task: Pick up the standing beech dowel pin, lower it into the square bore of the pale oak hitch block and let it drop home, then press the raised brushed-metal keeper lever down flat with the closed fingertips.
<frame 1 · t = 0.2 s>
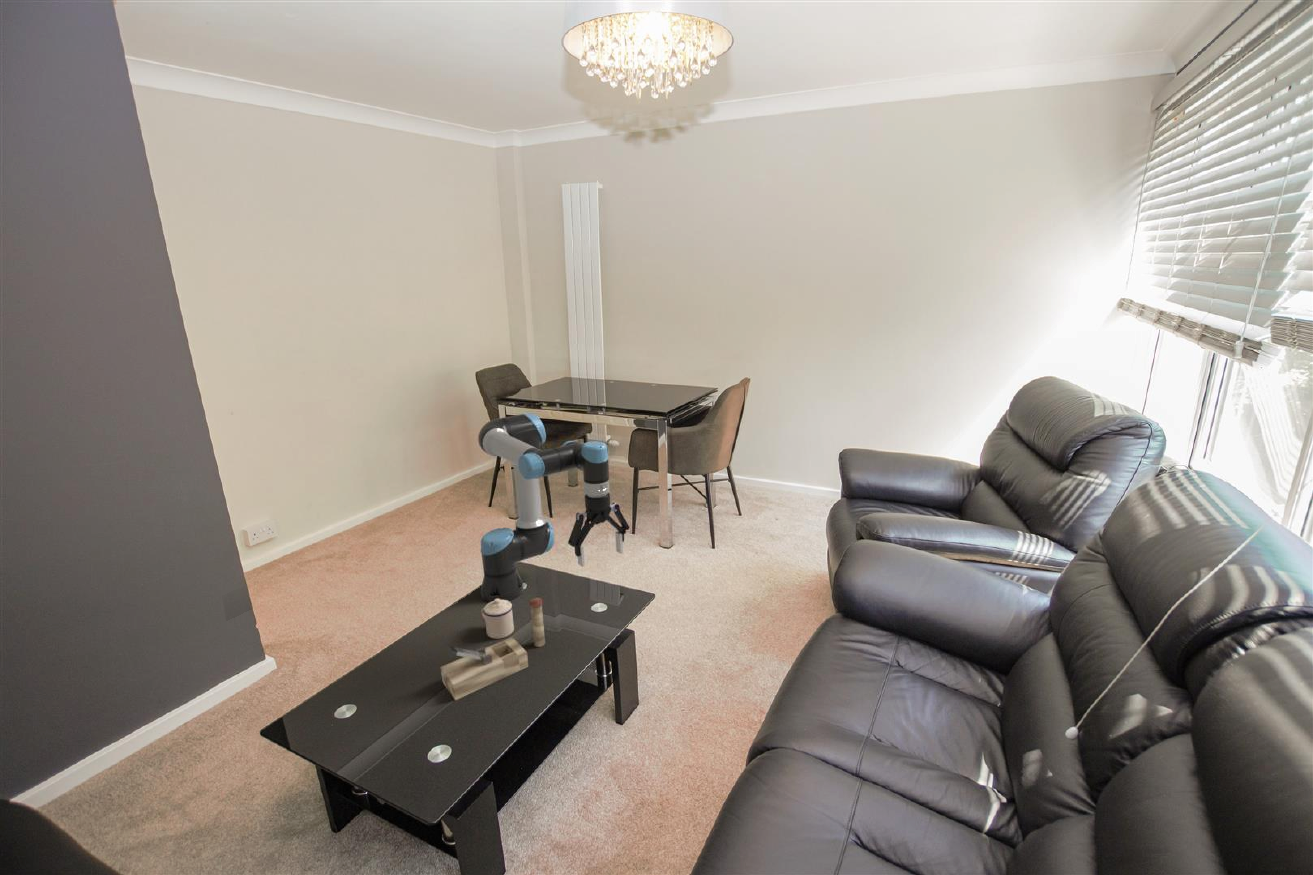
hand: (600, 558, 180), 28 cm above the table, fingers open, 13 cm apart
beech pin: (539, 643, 184), on the table
teacup with lid: (497, 630, 192), on the table
keeper lever: (467, 653, 165), point 9 cm above the table, hinge at 35.0°
hitch block: (486, 674, 170), on the table
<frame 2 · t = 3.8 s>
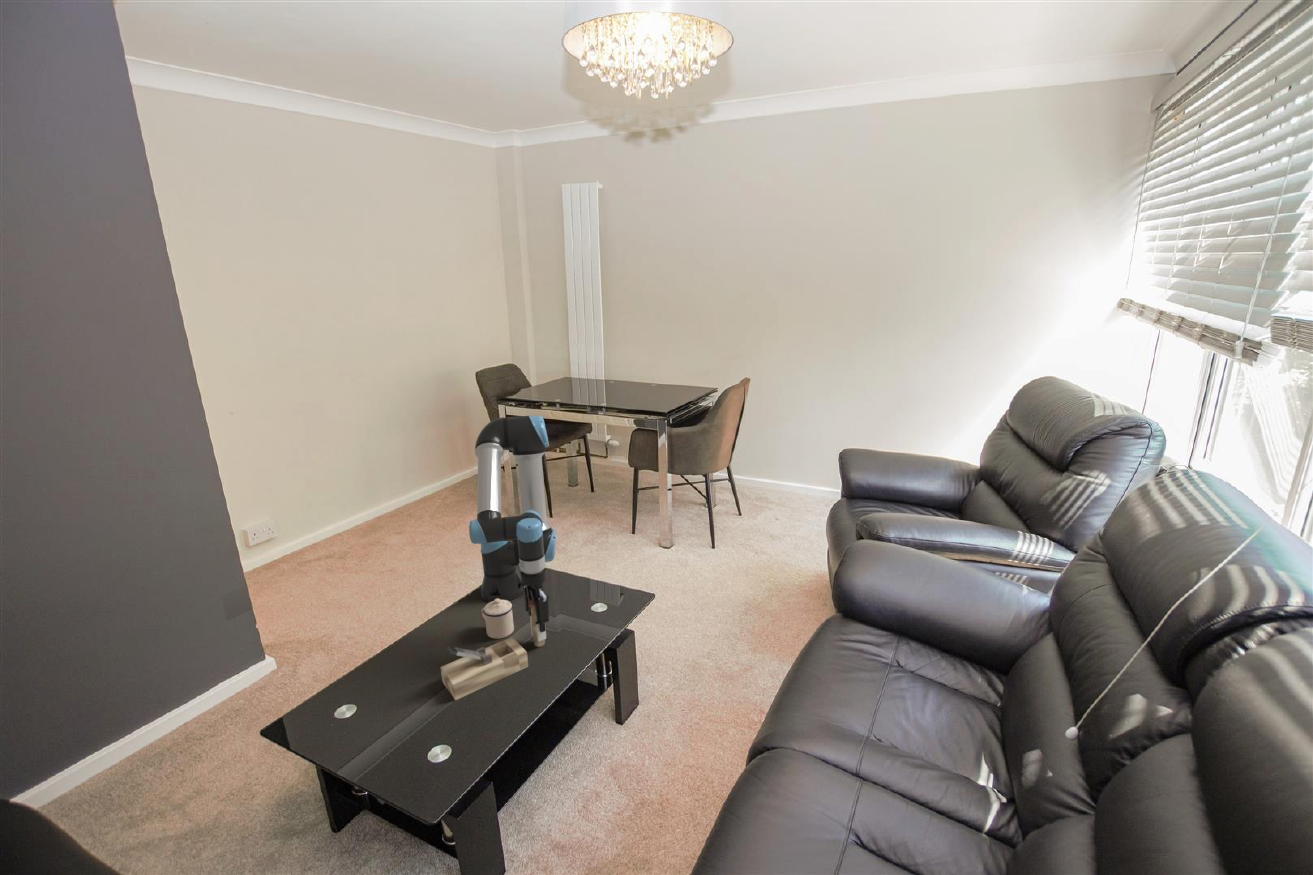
hand: (539, 636, 183), 3 cm above the table, fingers closed on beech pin, 3 cm apart
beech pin: (539, 643, 184), on the table, touching gripper
everything else where it was.
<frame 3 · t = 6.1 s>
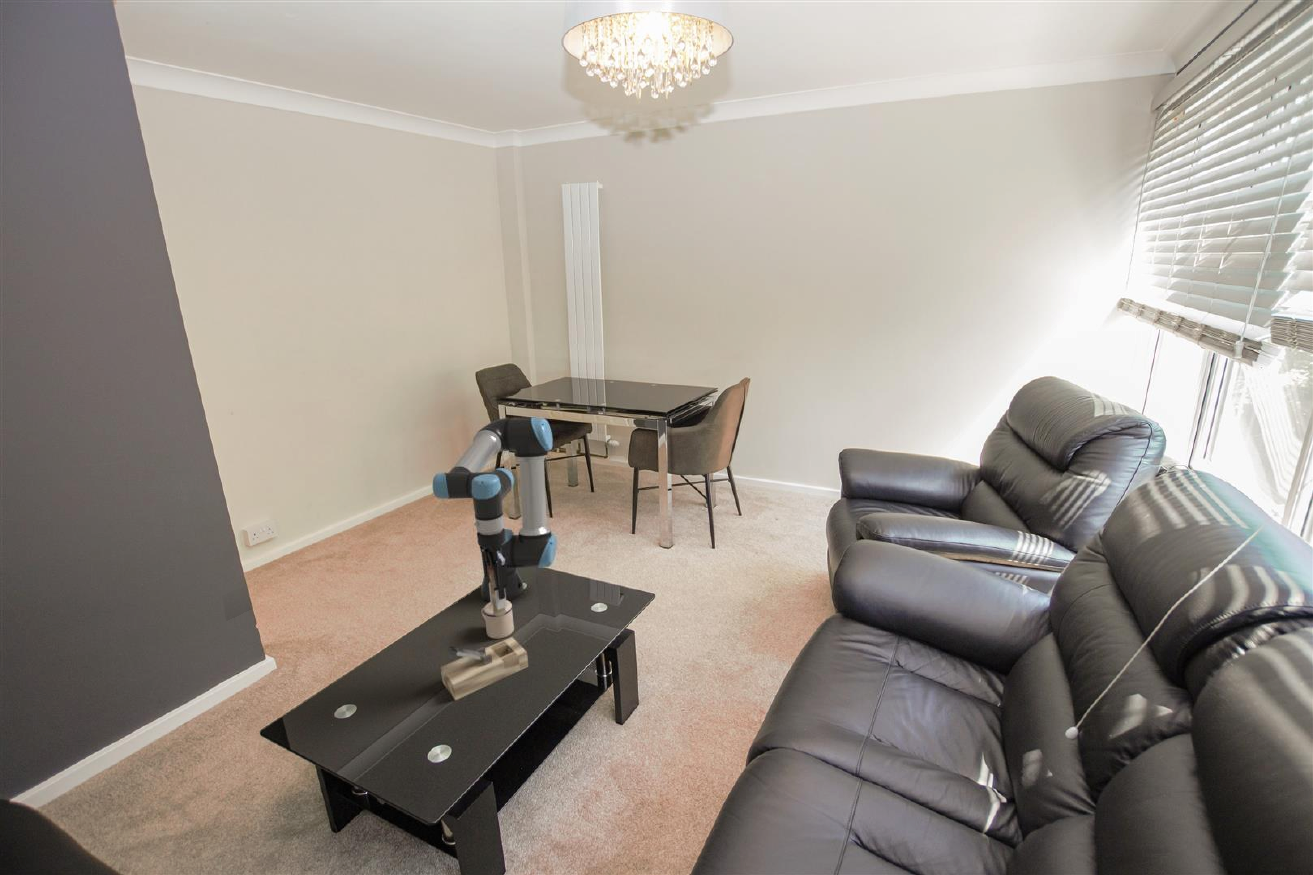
hand: (498, 604, 169), 20 cm above the table, fingers closed on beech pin, 3 cm apart
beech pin: (499, 613, 169), point 18 cm above the table, touching gripper
everything else where it was.
when the fingers open (6 cm above the table, at t = 8.8 s): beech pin drops 3 cm, resting in hitch block.
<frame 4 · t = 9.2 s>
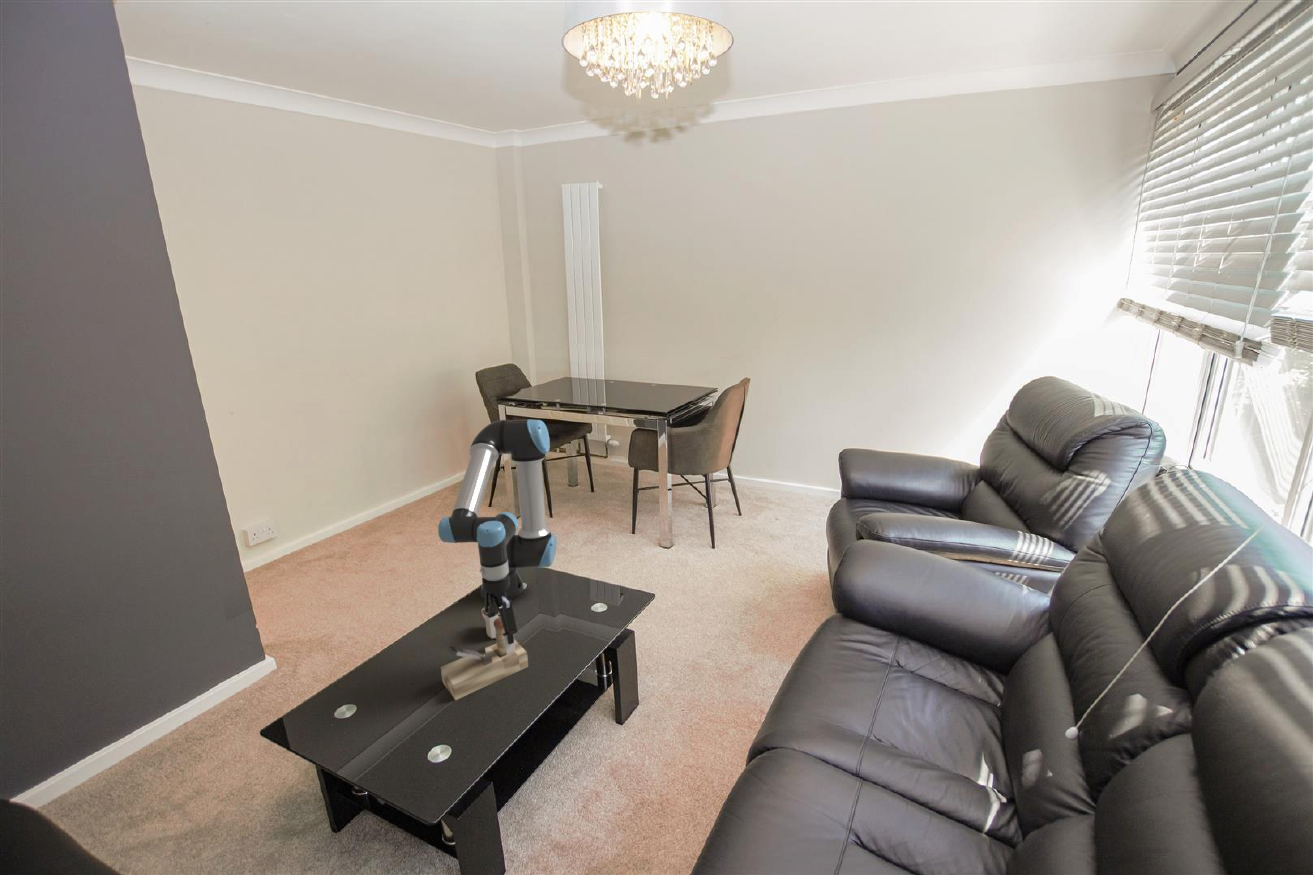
hand: (502, 643, 172), 7 cm above the table, fingers open, 9 cm apart
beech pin: (505, 665, 174), resting in hitch block
everything else where it was.
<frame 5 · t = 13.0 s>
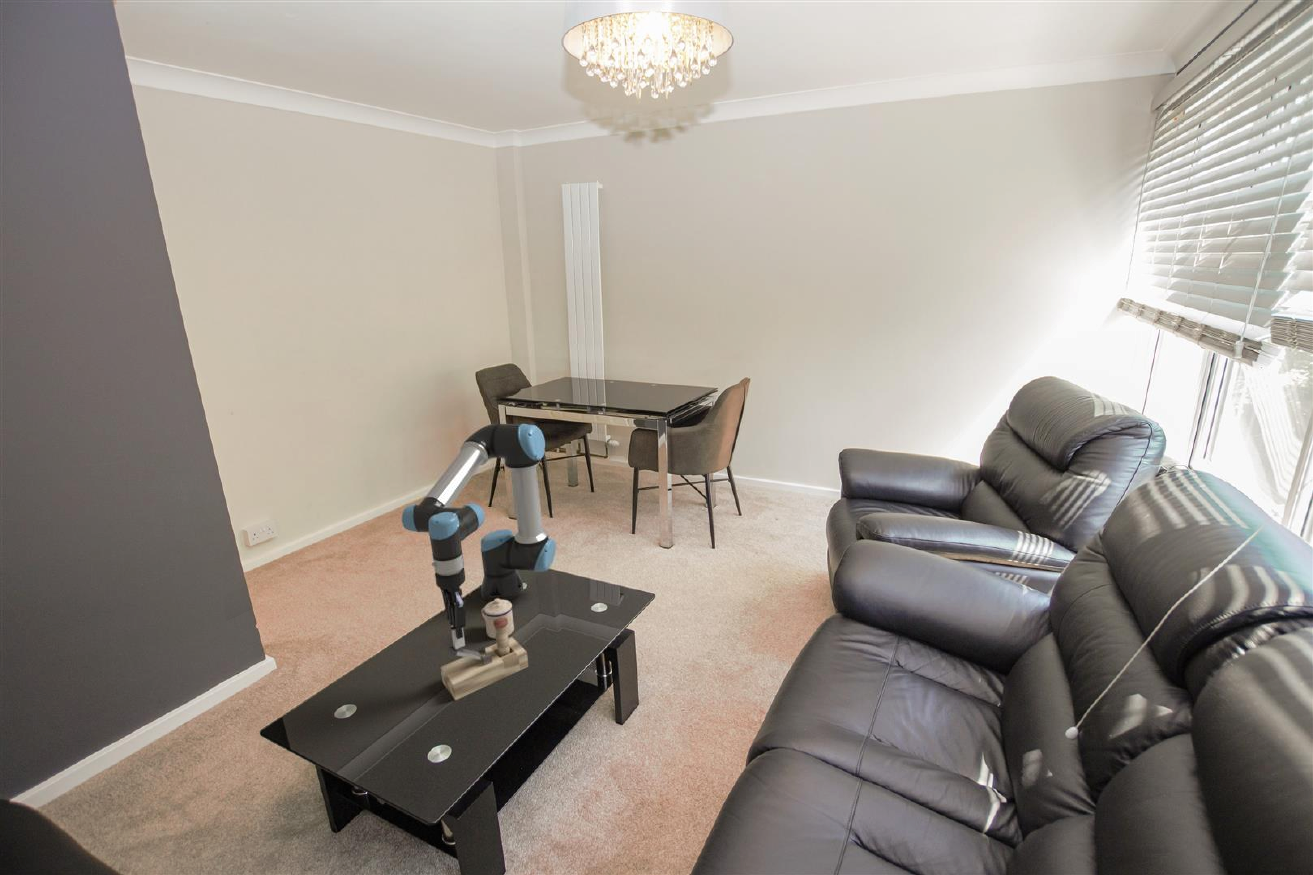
hand: (459, 646, 163), 12 cm above the table, fingers closed
keeper lever: (467, 653, 165), point 9 cm above the table, hinge at 35.0°, touching gripper
everything else where it was.
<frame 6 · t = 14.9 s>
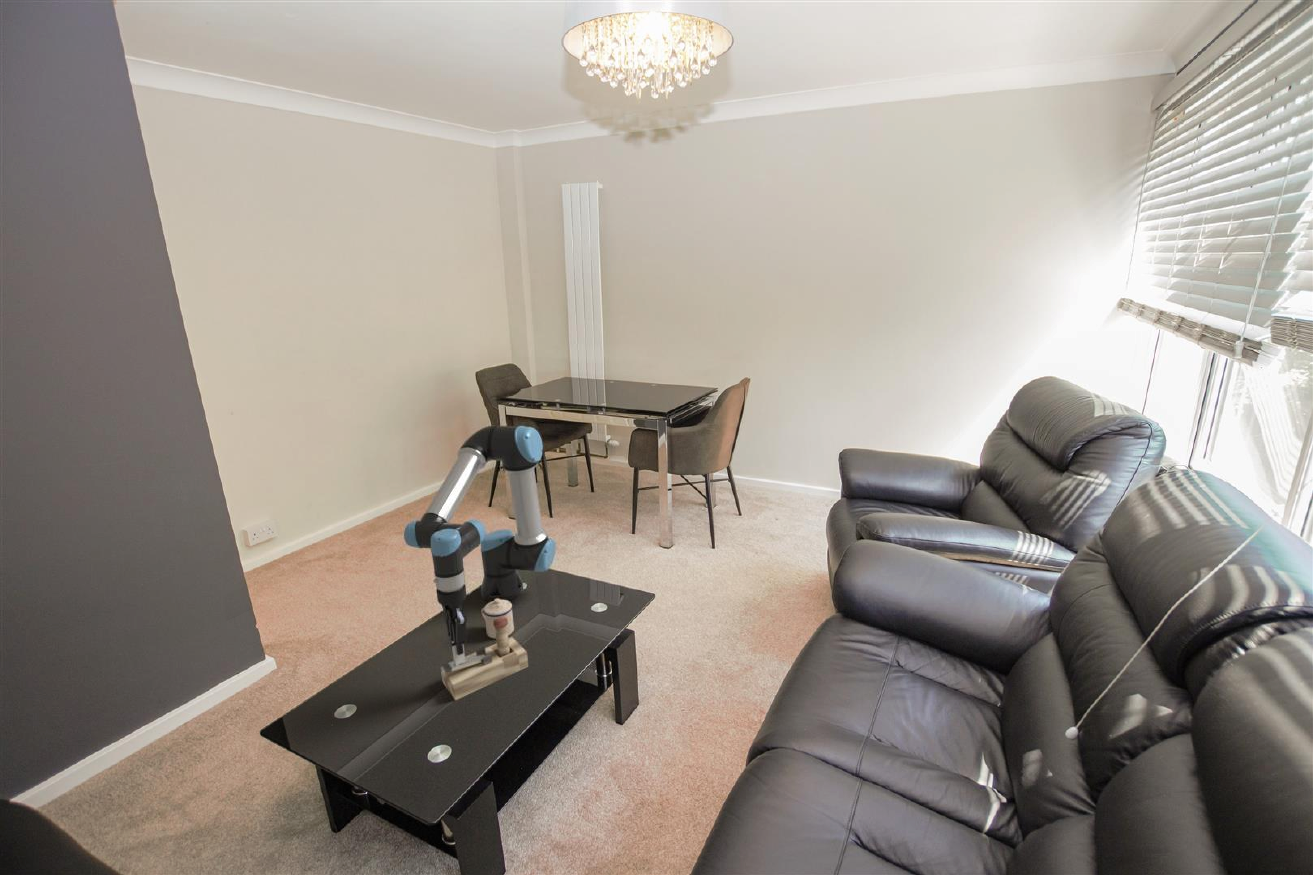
hand: (459, 662, 164), 8 cm above the table, fingers closed
keeper lever: (464, 662, 165), point 7 cm above the table, hinge at 8.1°, touching gripper
everything else where it was.
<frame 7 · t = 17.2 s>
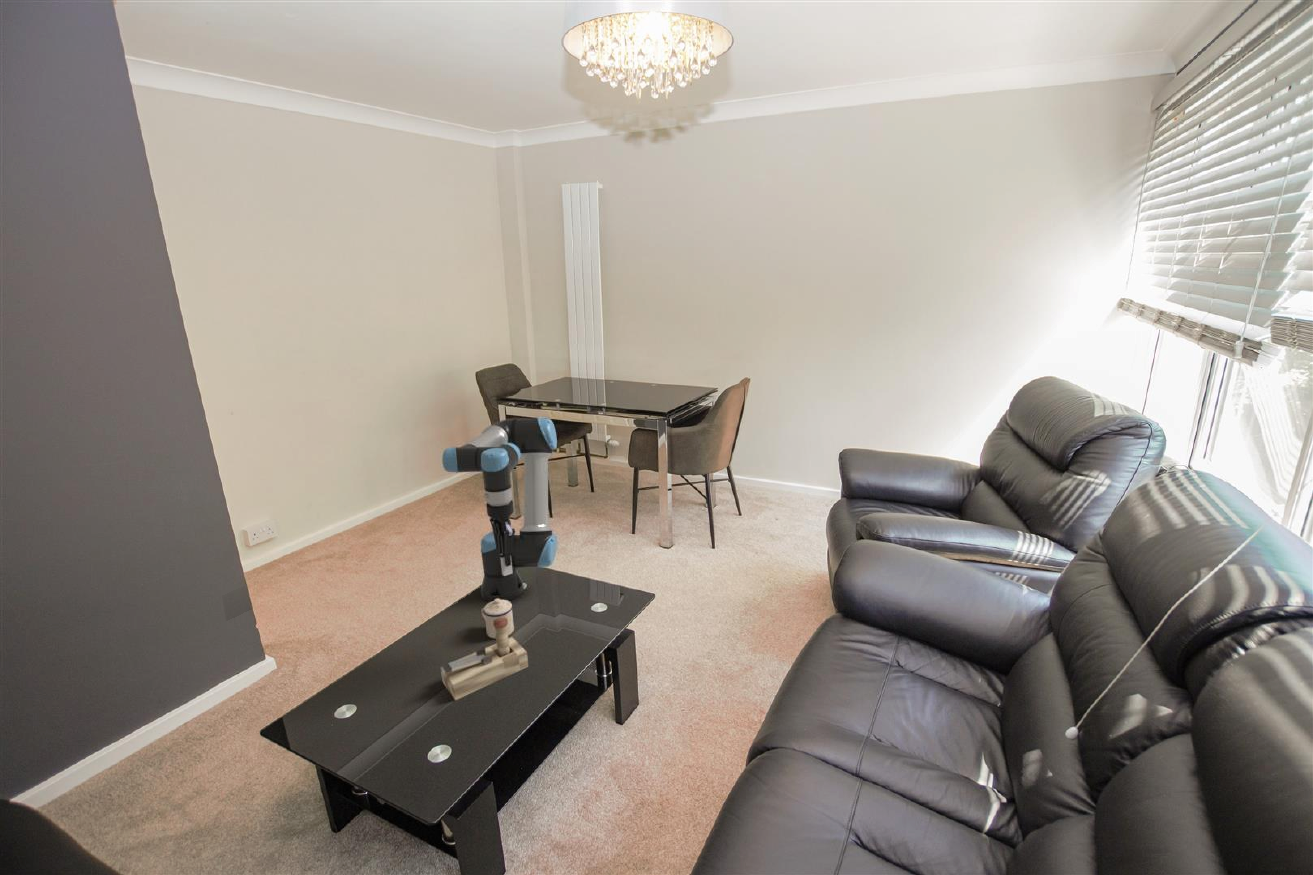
hand: (507, 573, 176), 25 cm above the table, fingers closed
keeper lever: (464, 662, 165), point 7 cm above the table, hinge at 8.0°
everything else where it was.
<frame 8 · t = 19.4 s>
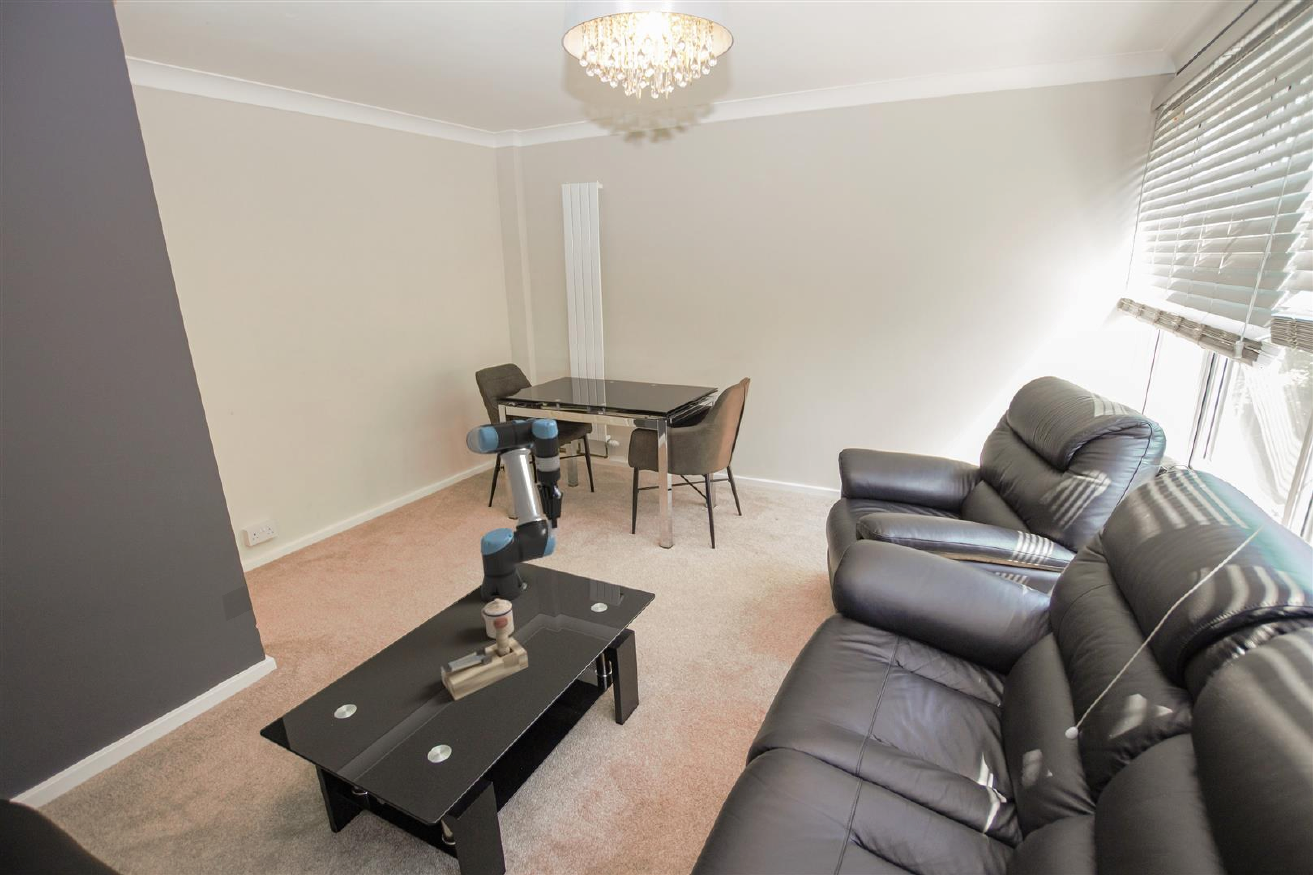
hand: (553, 536, 192), 29 cm above the table, fingers closed
nothing on the table moved.
at the end: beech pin 0.1 cm from the target spot on the hitch block, point 0.0 cm above the hitch block's base; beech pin tilted 0°; keeper lever at +8° (first picture: +35°) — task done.
